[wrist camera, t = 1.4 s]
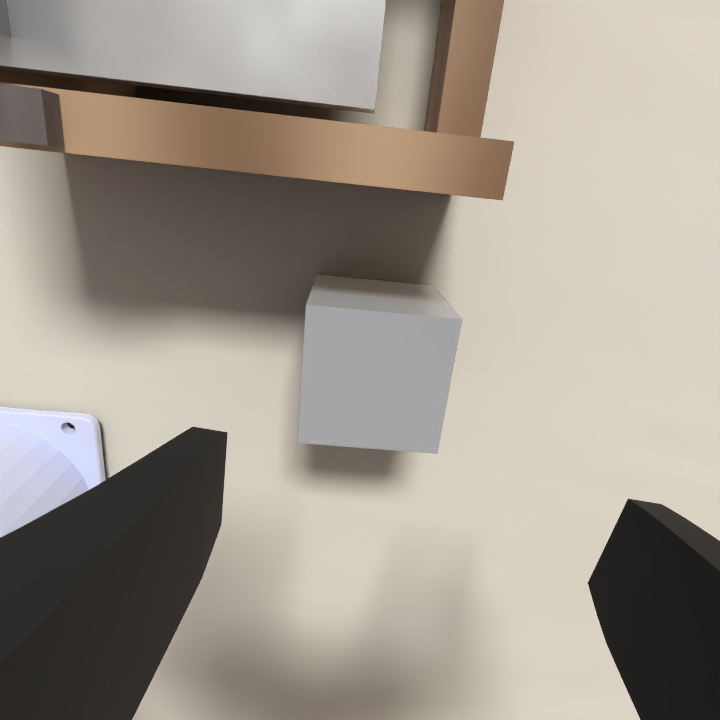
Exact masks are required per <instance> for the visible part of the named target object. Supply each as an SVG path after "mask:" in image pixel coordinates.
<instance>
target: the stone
mask: <svg viewBox="0 0 720 720" xmlns="http://www.w3.org/2000/svg"><path fill="white" fill-rule="evenodd" d="M461 323H462V319H461V317H460V316H459V315H458V314H457V313H456V311H455V310H454V309H453V308H452V307H451V305H450V304H449V303H448V302H447V301H446V299H445V298H444V297H443V296H442V295H441V293H440V292H439V291H438V290H437V289H436V287H435V286H432V285H422V284H411V283H401V282H391V281H381V280H370V279H360V278H350V277H339V276H329V275H319V274H317V275H316V278H315V281H314V283H313V286H312V289H311V292H310V295H309V297H308V300H307V303H306V311H305V327H304V343H303V359H302V375H301V391H300V407H299V423H298V439H297V443H304V444H317V445H330V446H343V447H356V448H369V449H382V450H395V451H408V452H421V453H434V454H437V453H438V447H439V442H440V436H441V431H442V426H443V420H444V415H445V409H446V404H447V398H448V393H449V388H450V382H451V377H452V371H453V366H454V361H455V355H456V350H457V344H458V339H459V333H460V328H461Z"/></svg>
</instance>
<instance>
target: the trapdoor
mask: <svg viewBox="0 0 720 720" xmlns="http://www.w3.org/2000/svg"><path fill="white" fill-rule="evenodd" d="M385 4H386V0H0V70H7V71H16V72H24V73H33V74H42V75H50V76H59V77H67V78H76V79H84V80H93V81H101V82H110V83H118V84H127V85H135V86H144V87H152V88H161V89H169V90H178V91H186V92H195V93H204V94H212V95H221V96H229V97H238V98H246V99H255V100H263V101H272V102H280V103H289V104H297V105H306V106H314V107H323V108H331V109H340V110H348V111H357V112H366V113H374V111H375V104H376V94H377V84H378V74H379V64H380V54H381V44H382V34H383V24H384V14H385Z"/></svg>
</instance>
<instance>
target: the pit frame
mask: <svg viewBox="0 0 720 720" xmlns="http://www.w3.org/2000/svg"><path fill="white" fill-rule="evenodd" d="M503 4H504V0H442V4H441V11H440V19H439V26H438V34H437V41H436V48H435V56H434V63H433V71H432V78H431V85H430V93H429V100H428V108H427V115H426V122H425V130H424V131H418V130H409V129H401V128H392V127H384V126H375V125H366V124H358V123H349V122H340V121H332V120H323V119H314V118H306V117H297V116H289V115H280V114H271V113H263V112H254V111H245V110H237V109H228V108H219V107H211V106H202V105H194V104H185V103H176V102H168V101H159V100H150V99H142V98H136V91H135V85H127V84H118V83H110V82H101V81H93V80H84V79H76V78H67V77H59V76H50V75H42V74H33V73H24V72H16V71H7V70H0V146H6V147H15V148H25V149H34V150H43V151H52V152H62V153H71V154H80V155H89V156H98V157H108V158H117V159H126V160H135V161H145V162H154V163H163V164H172V165H182V166H191V167H200V168H209V169H219V170H228V171H237V172H246V173H256V174H265V175H274V176H283V177H292V178H302V179H311V180H320V181H329V182H339V183H348V184H357V185H366V186H376V187H385V188H394V189H403V190H413V191H422V192H431V193H440V194H450V195H459V196H468V197H477V198H487V199H496V200H503V196H504V191H505V186H506V180H507V175H508V170H509V165H510V160H511V155H512V150H513V145H514V142H513V141H504V140H496V139H487V138H480V136H481V130H482V125H483V119H484V113H485V107H486V102H487V96H488V90H489V84H490V79H491V73H492V67H493V61H494V56H495V50H496V44H497V38H498V32H499V27H500V21H501V15H502V9H503Z"/></svg>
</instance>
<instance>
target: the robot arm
mask: <svg viewBox="0 0 720 720" xmlns="http://www.w3.org/2000/svg"><path fill="white" fill-rule="evenodd" d="M67 422H68V423H71V424H72V425H74V427H75V430H74V429H71V428H70V427H69V426H68V425H67ZM226 445H227V432H221V431H215V430H209V429H203V428H197V427H192V428H190V429H188V430H186V431H185V432H183V433H181V434H180V435H178V436H176V437H175V438H173V439H172V440H170V441H168V442H167V443H165V444H164V445H162V446H160V447H159V448H157V449H156V450H154V451H153V452H151V453H149V454H148V455H146V456H145V457H143V458H141V459H140V460H138V461H136V462H135V463H133V464H131V465H130V466H128V467H126V468H125V469H123V470H122V471H120V472H118V473H117V474H115V475H113V476H112V477H110V478H108V479H107V480H106V479H105V470H104V460H103V451H102V441H101V432H100V425H99V422H98V421H97V419H96V418H95V417H93V416H92V415H89V414H85V413H72V412H59V411H46V410H33V409H20V408H7V407H0V720H132V718H133V716H134V714H135V712H136V710H137V708H138V706H139V704H140V702H141V700H142V698H143V696H144V694H145V692H146V690H147V688H148V686H149V684H150V682H151V680H152V678H153V676H154V674H155V672H156V670H157V668H158V666H159V664H160V662H161V660H162V658H163V656H164V654H165V652H166V650H167V648H168V646H169V644H170V642H171V640H172V638H173V636H174V634H175V632H176V630H177V628H178V626H179V624H180V622H181V620H182V618H183V616H184V614H185V612H186V610H187V608H188V605H189V603H190V601H191V599H192V597H193V595H194V593H195V591H196V589H197V587H198V585H199V583H200V581H201V579H202V576H203V573H204V571H205V568H206V565H207V563H208V560H209V557H210V555H211V552H212V549H213V546H214V543H215V540H216V538H217V535H218V532H219V529H220V526H221V520H222V505H223V490H224V475H225V460H226ZM588 585H589V588H590V592H591V595H592V599H593V602H594V606H595V609H596V613H597V616H598V619H599V622H600V625H601V628H602V631H603V634H604V637H605V640H606V643H607V645H608V648H609V650H610V652H611V655H612V657H613V659H614V662H615V664H616V666H617V668H618V670H619V673H620V675H621V677H622V679H623V682H624V684H625V686H626V688H627V691H628V693H629V695H630V697H631V700H632V702H633V704H634V706H635V708H636V711H637V713H638V715H639V717H640V719H641V720H720V541H719V540H717V539H716V538H714V537H713V536H711V535H710V534H708V533H707V532H705V531H704V530H702V529H701V528H699V527H698V526H696V525H695V524H693V523H692V522H690V521H689V520H687V519H686V518H684V517H682V516H681V515H679V514H677V513H676V512H674V511H672V510H671V509H669V508H667V507H665V506H664V505H662V504H657V503H651V502H645V501H639V500H632V499H628V500H627V502H626V504H625V507H624V509H623V511H622V513H621V515H620V517H619V519H618V521H617V523H616V525H615V527H614V530H613V532H612V534H611V536H610V538H609V540H608V542H607V544H606V546H605V548H604V550H603V552H602V555H601V557H600V559H599V561H598V563H597V565H596V567H595V569H594V571H593V573H592V575H591V578H590V580H589V582H588Z"/></svg>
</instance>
